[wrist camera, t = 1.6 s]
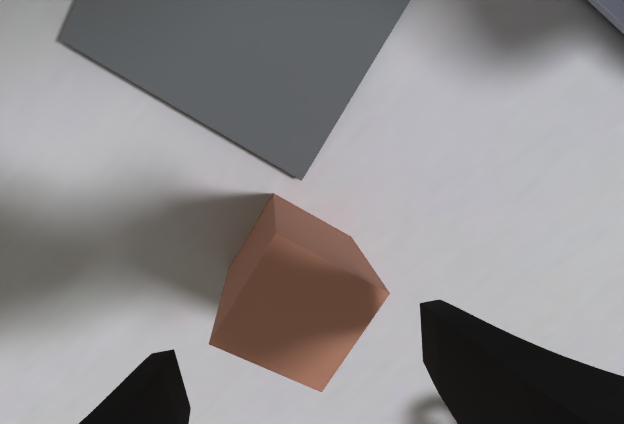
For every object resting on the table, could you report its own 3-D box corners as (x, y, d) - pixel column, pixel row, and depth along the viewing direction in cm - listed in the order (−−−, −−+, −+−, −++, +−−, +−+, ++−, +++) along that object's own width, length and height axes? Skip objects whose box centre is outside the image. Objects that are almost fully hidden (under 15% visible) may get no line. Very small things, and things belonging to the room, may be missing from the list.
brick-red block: (351, 236, 18) (390, 293, 12) (305, 307, 19) (321, 392, 13) (273, 192, 17) (276, 232, 11) (228, 269, 18) (208, 344, 12)
